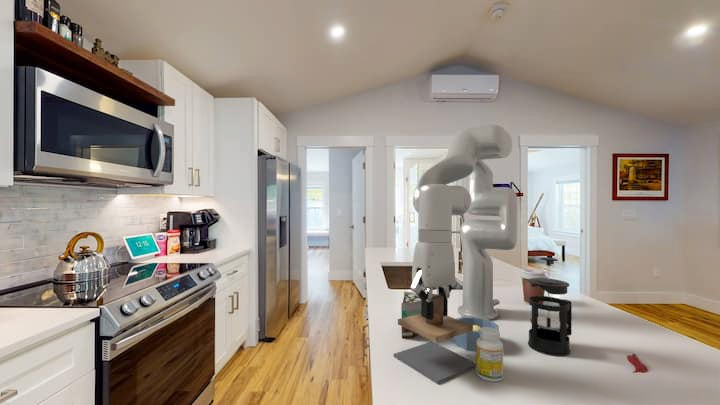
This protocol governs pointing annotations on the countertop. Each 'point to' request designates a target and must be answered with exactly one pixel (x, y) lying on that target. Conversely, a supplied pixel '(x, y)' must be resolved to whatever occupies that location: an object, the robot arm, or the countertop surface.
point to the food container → (410, 311)
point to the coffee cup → (527, 288)
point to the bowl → (472, 332)
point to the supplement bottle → (489, 355)
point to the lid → (436, 323)
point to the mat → (435, 361)
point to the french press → (546, 329)
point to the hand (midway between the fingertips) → (434, 315)
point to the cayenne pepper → (637, 363)
